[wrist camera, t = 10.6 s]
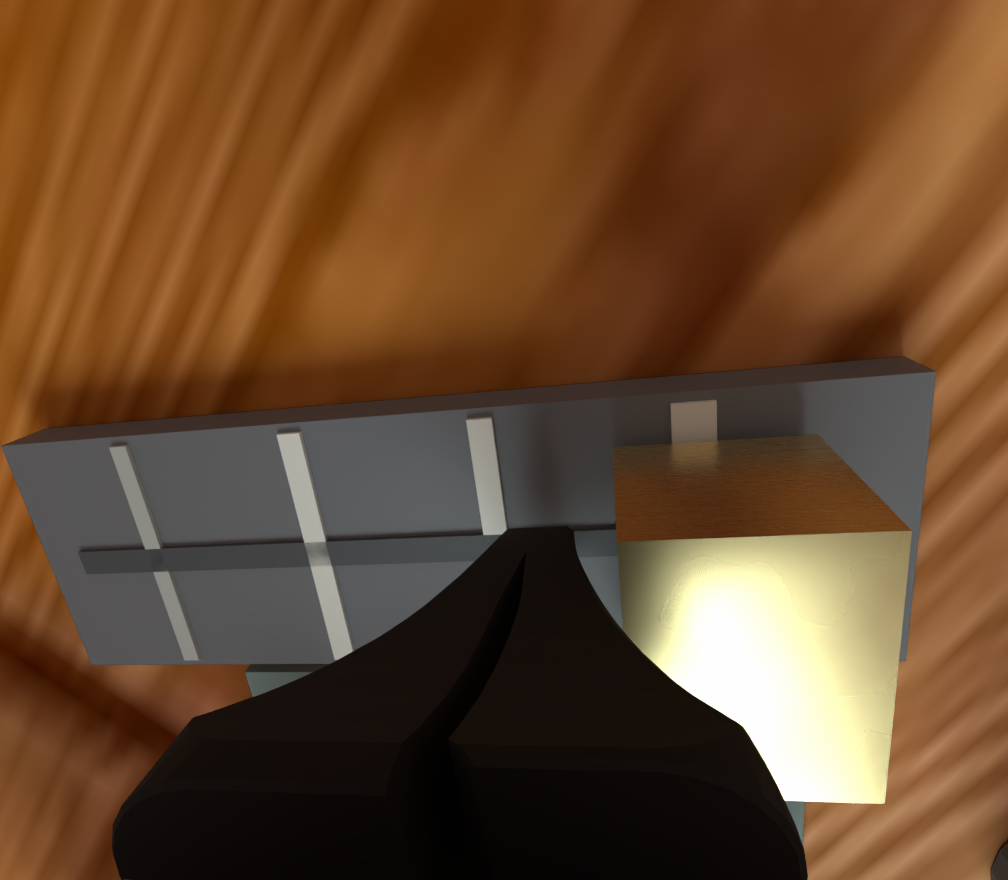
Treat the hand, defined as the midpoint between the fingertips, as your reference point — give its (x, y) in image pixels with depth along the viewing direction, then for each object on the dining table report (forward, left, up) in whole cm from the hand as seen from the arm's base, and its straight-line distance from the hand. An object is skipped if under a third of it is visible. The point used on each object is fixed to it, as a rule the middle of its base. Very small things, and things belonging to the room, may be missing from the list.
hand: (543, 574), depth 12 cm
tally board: (0, +3, -2) cm, 4 cm away
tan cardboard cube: (0, -3, -1) cm, 3 cm away
